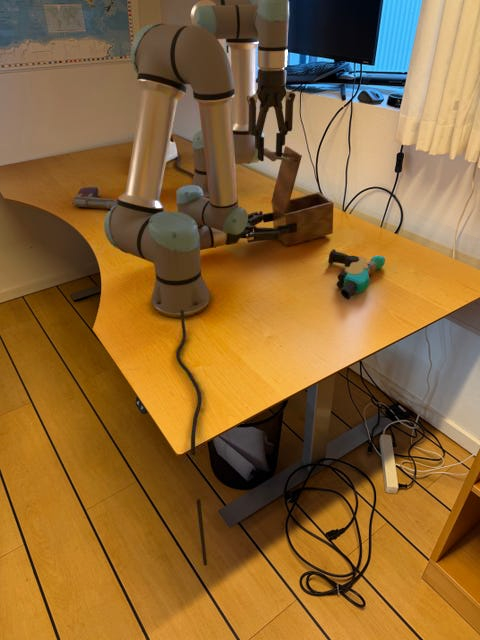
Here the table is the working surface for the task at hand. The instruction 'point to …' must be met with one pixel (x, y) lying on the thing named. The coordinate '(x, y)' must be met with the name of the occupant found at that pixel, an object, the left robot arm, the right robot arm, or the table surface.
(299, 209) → the chest
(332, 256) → the toy gun
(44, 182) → the table surface
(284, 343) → the table surface
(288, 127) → the right robot arm
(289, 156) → the lid
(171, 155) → the sneaker
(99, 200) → the toy gun
